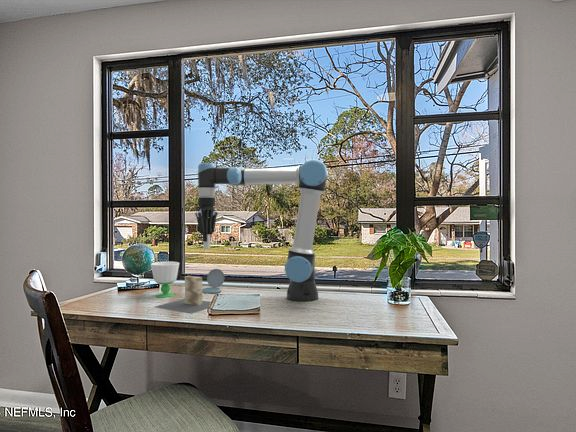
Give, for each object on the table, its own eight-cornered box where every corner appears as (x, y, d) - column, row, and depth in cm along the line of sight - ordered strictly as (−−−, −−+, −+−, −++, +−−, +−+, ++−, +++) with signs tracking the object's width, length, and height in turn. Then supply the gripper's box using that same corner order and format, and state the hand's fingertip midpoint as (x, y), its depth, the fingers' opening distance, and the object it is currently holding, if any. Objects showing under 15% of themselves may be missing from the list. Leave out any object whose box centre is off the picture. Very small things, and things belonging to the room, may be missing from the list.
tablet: (202, 304, 191) (202, 277, 191) (198, 305, 189) (198, 278, 189) (189, 302, 196) (189, 275, 195) (184, 303, 193) (184, 276, 193)
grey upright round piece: (225, 269, 226) (214, 273, 212) (225, 289, 227) (214, 295, 212) (207, 268, 229) (195, 272, 214) (208, 289, 229) (195, 294, 214)
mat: (223, 305, 193) (223, 303, 193) (191, 315, 175) (191, 313, 175) (186, 299, 204) (186, 298, 204) (153, 308, 187) (153, 306, 187)
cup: (152, 299, 204) (151, 266, 203) (149, 293, 216) (149, 262, 216) (181, 297, 209) (181, 264, 208) (177, 291, 221) (177, 260, 221)
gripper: (209, 197, 206) (210, 246, 207) (190, 197, 195) (190, 249, 196) (222, 197, 202) (222, 247, 203) (203, 196, 191) (203, 250, 192)
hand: (206, 248), depth 199 cm, fingers closed
